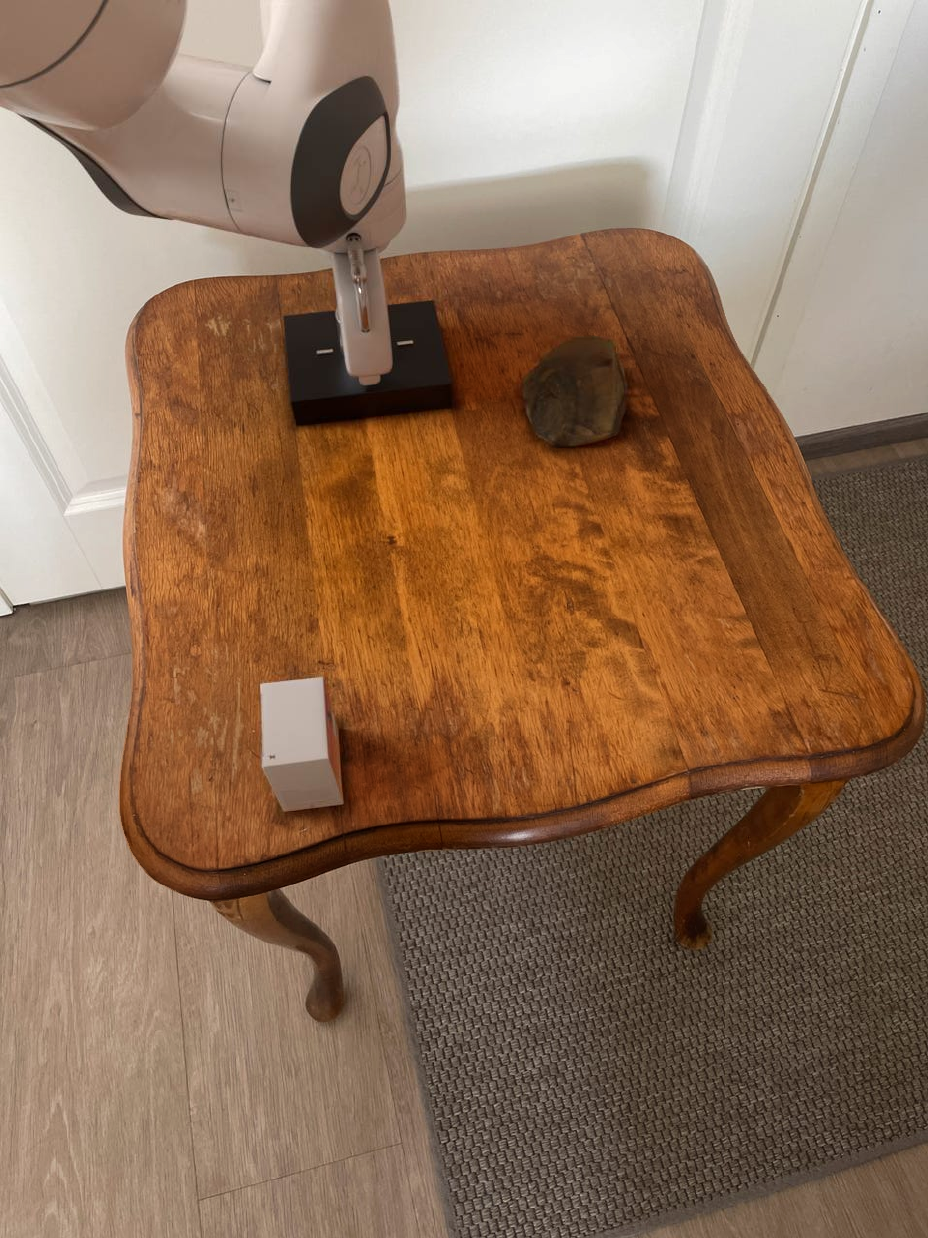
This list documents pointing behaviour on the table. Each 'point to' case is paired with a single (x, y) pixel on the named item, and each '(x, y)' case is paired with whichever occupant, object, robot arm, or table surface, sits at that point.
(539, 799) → the table surface
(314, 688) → the small box
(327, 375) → the panel
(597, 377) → the decorative stone
